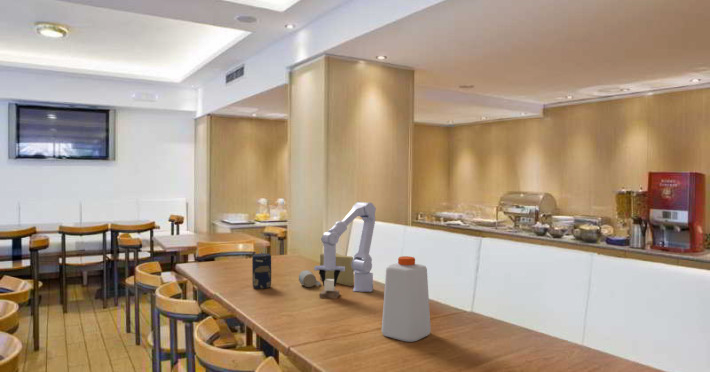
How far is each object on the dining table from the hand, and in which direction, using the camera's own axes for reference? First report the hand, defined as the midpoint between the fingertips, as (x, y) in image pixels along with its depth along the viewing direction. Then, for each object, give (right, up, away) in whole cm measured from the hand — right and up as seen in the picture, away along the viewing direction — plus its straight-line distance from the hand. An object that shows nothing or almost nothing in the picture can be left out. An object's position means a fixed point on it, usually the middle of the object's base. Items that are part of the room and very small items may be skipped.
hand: (329, 285), depth 228 cm
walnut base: (0, -5, 0) cm, 5 cm away
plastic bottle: (+31, -7, -54) cm, 63 cm away
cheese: (+4, -5, +29) cm, 30 cm away
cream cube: (0, -2, 0) cm, 2 cm away
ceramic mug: (-11, -5, +21) cm, 25 cm away
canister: (-35, -5, +17) cm, 40 cm away
